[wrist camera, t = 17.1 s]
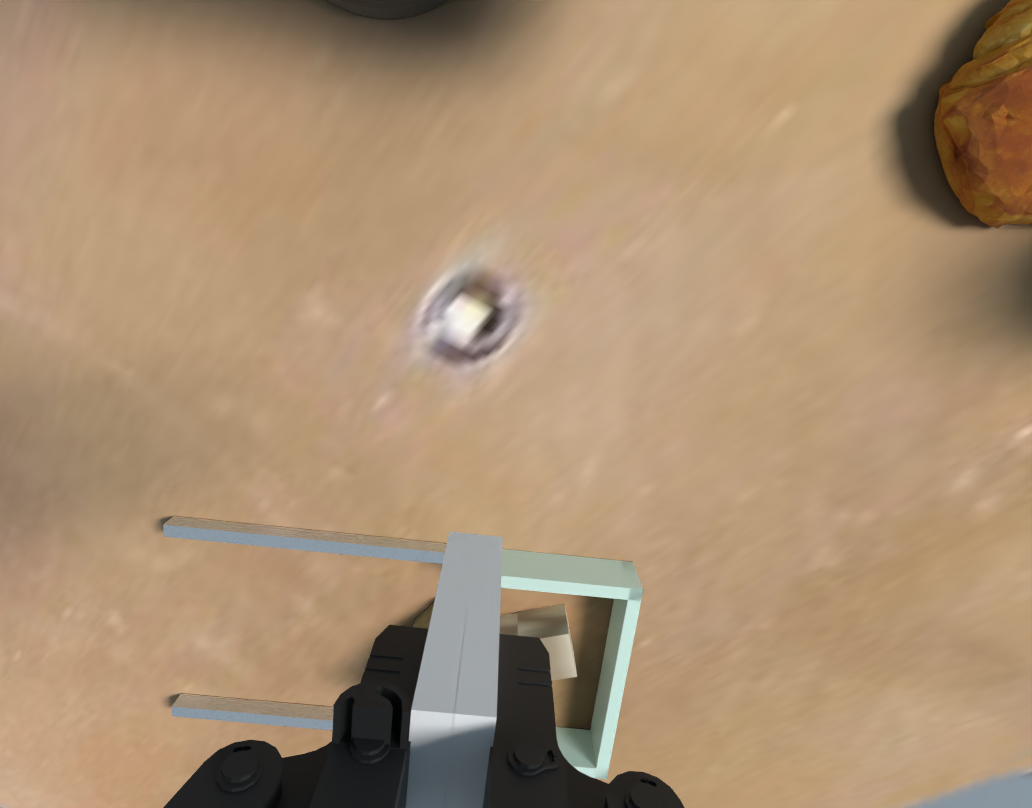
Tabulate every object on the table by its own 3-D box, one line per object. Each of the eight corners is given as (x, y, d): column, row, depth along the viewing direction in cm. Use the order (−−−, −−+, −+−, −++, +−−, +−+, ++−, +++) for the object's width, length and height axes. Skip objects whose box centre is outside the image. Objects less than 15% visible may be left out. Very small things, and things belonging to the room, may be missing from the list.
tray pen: (455, 727, 53) (450, 765, 49) (474, 546, 48) (471, 572, 44) (599, 740, 53) (606, 779, 50) (632, 561, 49) (643, 589, 45)
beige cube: (526, 651, 51) (527, 684, 47) (517, 611, 50) (517, 642, 46) (572, 643, 51) (577, 676, 47) (564, 603, 50) (568, 633, 46)
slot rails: (181, 702, 52) (172, 716, 51) (173, 516, 47) (163, 524, 46) (455, 727, 53) (453, 740, 51) (474, 545, 48) (473, 555, 47)
